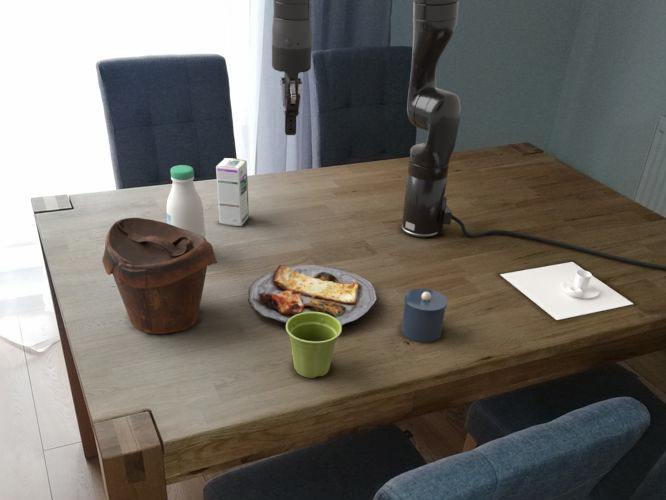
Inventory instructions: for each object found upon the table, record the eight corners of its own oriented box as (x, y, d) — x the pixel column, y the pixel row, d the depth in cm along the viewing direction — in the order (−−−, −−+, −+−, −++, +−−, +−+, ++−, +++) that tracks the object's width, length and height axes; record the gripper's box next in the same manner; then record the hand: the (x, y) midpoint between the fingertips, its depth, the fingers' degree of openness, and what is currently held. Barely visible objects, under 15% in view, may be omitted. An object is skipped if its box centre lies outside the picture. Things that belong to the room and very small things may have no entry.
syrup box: (241, 226, 170) (240, 168, 162) (218, 223, 171) (215, 164, 163) (249, 217, 175) (248, 159, 167) (226, 214, 176) (223, 156, 168)
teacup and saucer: (573, 303, 148) (578, 286, 146) (550, 285, 154) (554, 268, 152) (607, 296, 151) (612, 279, 149) (582, 279, 157) (587, 262, 155)
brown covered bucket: (226, 336, 131) (223, 248, 121) (113, 349, 126) (99, 258, 116) (212, 289, 145) (208, 206, 135) (110, 299, 140) (97, 213, 130)
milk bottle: (213, 254, 158) (208, 166, 147) (193, 268, 152) (186, 177, 141) (184, 246, 160) (177, 159, 149) (163, 259, 155) (154, 170, 143)
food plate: (227, 314, 137) (226, 298, 135) (281, 264, 155) (281, 250, 154) (347, 347, 130) (348, 331, 128) (389, 291, 148) (391, 276, 146)
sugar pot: (436, 319, 140) (442, 281, 135) (447, 342, 133) (453, 302, 129) (396, 320, 139) (401, 281, 134) (405, 343, 132) (410, 303, 128)
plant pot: (346, 360, 127) (349, 318, 122) (328, 390, 119) (330, 347, 115) (297, 348, 129) (298, 307, 124) (276, 376, 122) (276, 334, 117)
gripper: (315, 51, 130) (312, 144, 140) (308, 36, 141) (305, 124, 151) (273, 50, 129) (273, 144, 139) (270, 35, 140) (270, 123, 150)
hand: (290, 133), depth 145 cm, fingers closed
